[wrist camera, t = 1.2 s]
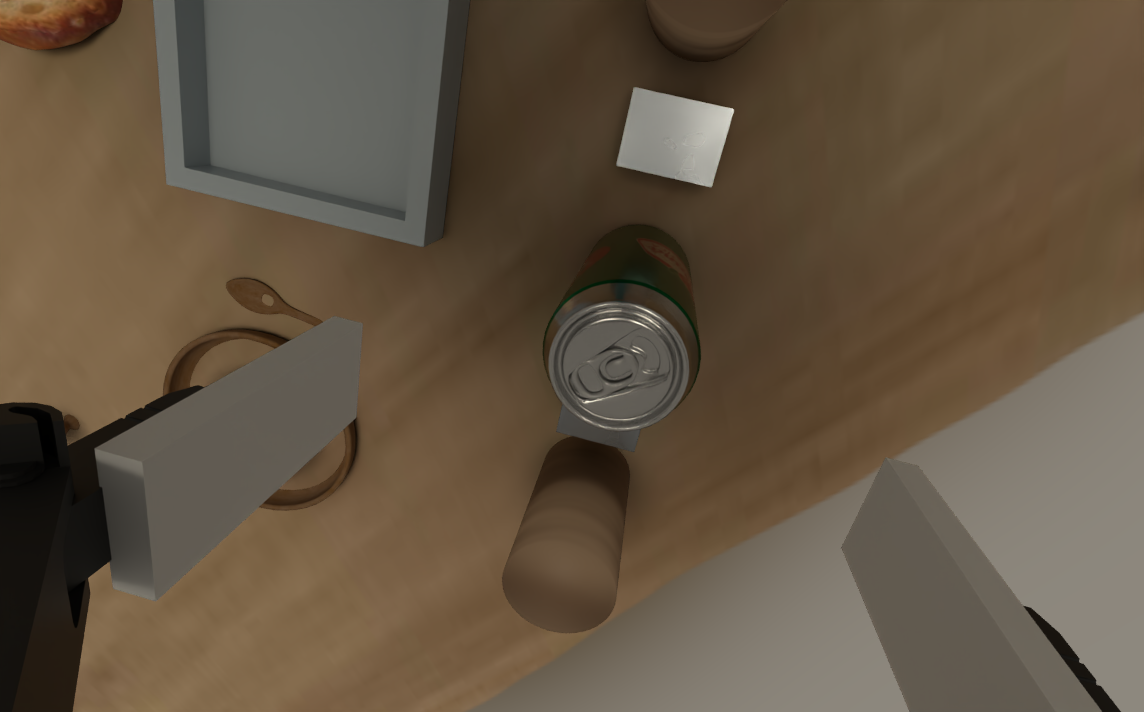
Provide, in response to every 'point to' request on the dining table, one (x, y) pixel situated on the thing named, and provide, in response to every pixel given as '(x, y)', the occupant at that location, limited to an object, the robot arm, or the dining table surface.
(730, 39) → the dowel near
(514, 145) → the dining table surface
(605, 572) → the dowel far
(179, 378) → the place setting
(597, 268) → the soda can
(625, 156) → the clip rack
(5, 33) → the bread slice
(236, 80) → the tray
